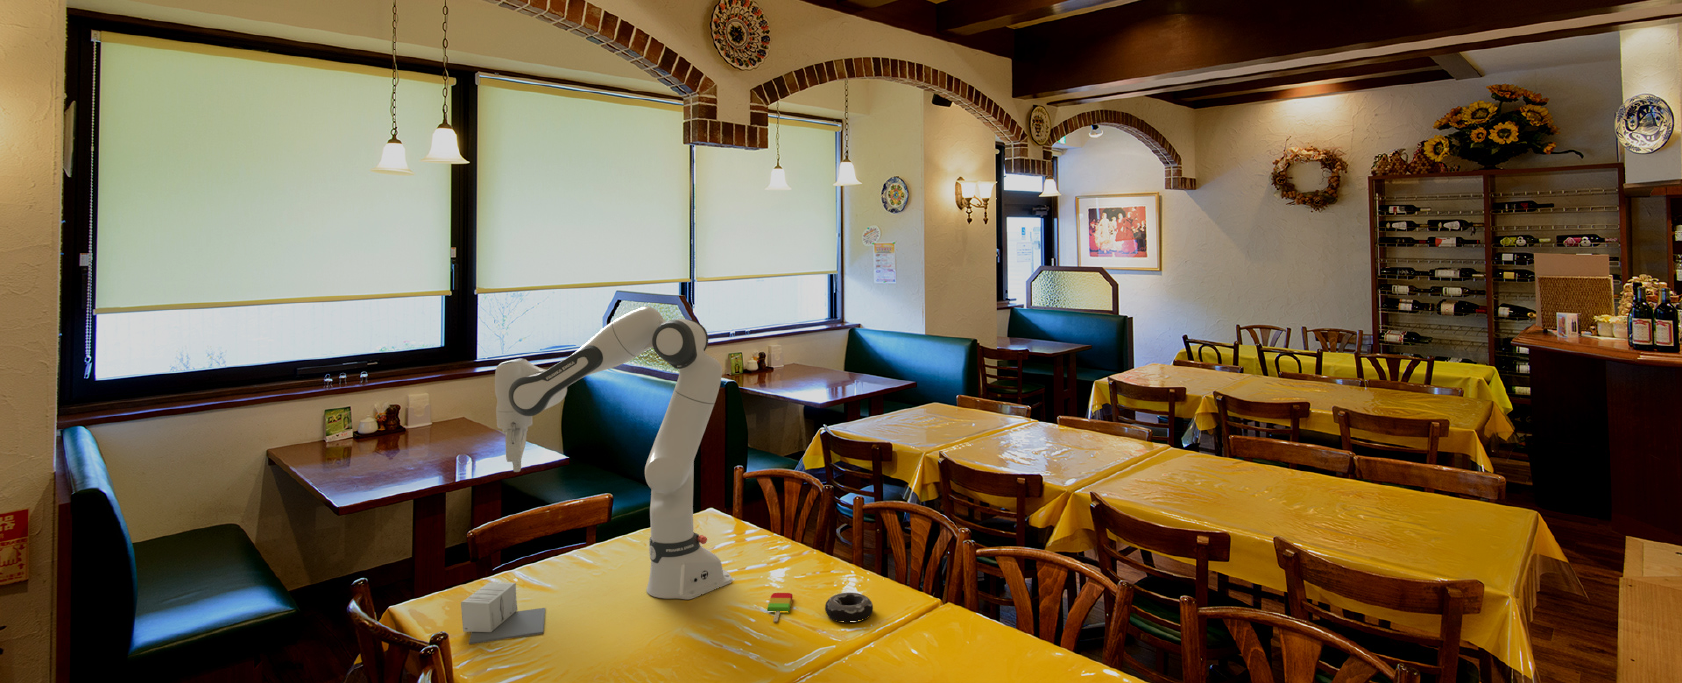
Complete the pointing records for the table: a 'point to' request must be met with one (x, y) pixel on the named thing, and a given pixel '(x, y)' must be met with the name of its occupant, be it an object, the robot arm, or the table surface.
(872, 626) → the table surface
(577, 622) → the table surface
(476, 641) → the rubber mat
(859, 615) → the donut
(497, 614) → the supplement box
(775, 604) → the popsicle
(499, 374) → the robot arm
